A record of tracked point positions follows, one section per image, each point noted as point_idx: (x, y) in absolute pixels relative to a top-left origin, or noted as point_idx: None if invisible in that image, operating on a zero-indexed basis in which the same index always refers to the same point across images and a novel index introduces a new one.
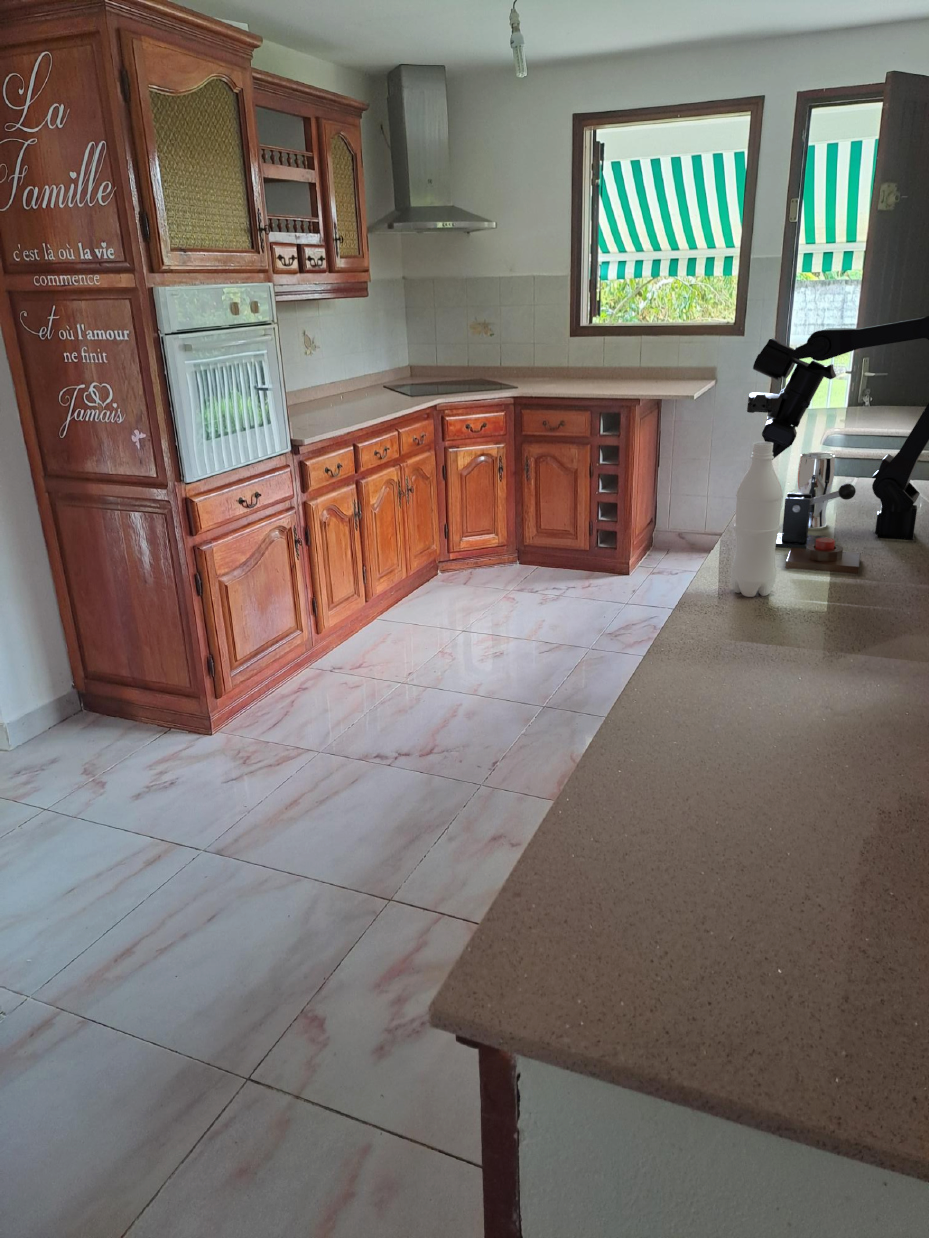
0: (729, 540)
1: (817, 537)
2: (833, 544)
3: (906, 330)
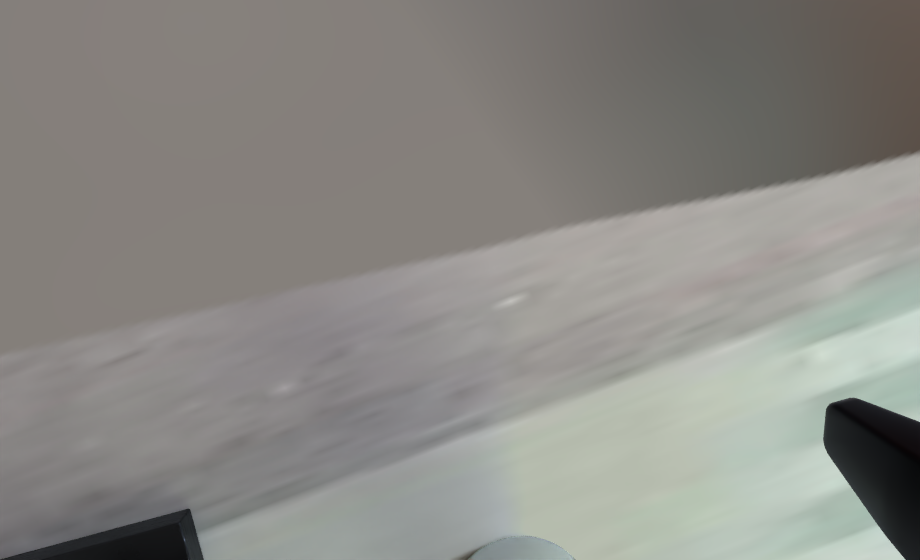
0: (34, 353)
1: None
2: None
3: None
